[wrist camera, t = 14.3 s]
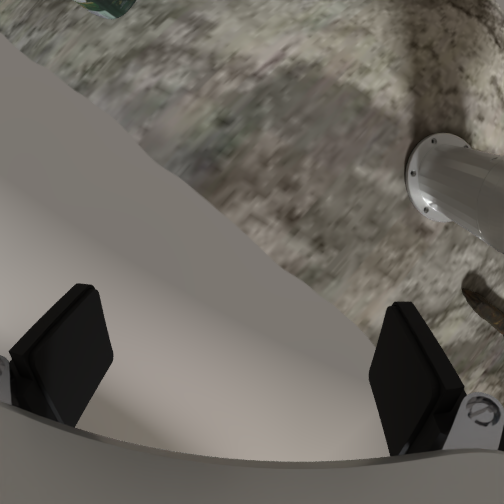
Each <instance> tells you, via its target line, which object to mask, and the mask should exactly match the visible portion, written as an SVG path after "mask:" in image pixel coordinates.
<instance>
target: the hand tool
mask: <svg viewBox="0 0 504 504" xmlns="http://www.w3.org/2000/svg"><path fill="white" fill-rule="evenodd" d="M462 293H463V295H464V296H465V298H466V300H467V302H468V303H469V305H470V306H471V307H472V308H473V310H474V311H475V312H476V313H478V315H479V316H480V317H481V318H483V319H485V320H486V321H487V322H488V323H490V324H491V325H492V326H493V327H494V328H495V329H497V330H498V331H499V332H500V333H501V334H503V336H504V314H503V313H502V312H501V311H500V310H498V309H497V308H496V307H494V306H493V305H492V304H491V303H490V302H488V301H487V300H486V299H485V298H484V297H482V296H481V295H479V294H478V293H476V292H473V291H470V290H466V289H462Z"/></svg>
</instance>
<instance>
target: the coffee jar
mask: <svg viewBox="0 0 504 504" xmlns="http://www.w3.org/2000/svg"><path fill="white" fill-rule="evenodd" d="M74 1H75V2H77V3H78V4H80V5H81V6H82V7H84V8H85V9H87V10H88V11H90V12H91V13H93V14H95V15H97V16H99V17H102V18H107V19H115V18H119V17H121V16H122V15H124V14H125V13H126V12H127V11H128V10H129V9H130V8H131V6H132V5H133V4H134V3H135V1H136V0H74Z"/></svg>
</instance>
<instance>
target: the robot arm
mask: <svg viewBox="0 0 504 504" xmlns="http://www.w3.org/2000/svg"><path fill="white" fill-rule="evenodd" d="M432 140H433V142H432ZM411 171H412V174H411ZM406 187H407V192H408V195H409V198H410V200H411V202H412V203H413V205H414V207H415V208H416V209H417V210H418V211H419V212H420V213H421V214H423V215H424V216H425V217H427V218H429V219H430V220H433V221H436V222H450V221H454V222H455V223H457V224H459V225H460V226H462V227H463V228H465V229H466V230H468V231H469V232H471V233H472V234H474V235H475V236H477V237H478V238H480V239H481V240H482V241H484V242H485V243H487V244H488V245H490V246H491V247H493V248H494V249H496V250H497V251H499V252H501V253H502V254H504V156H502V155H498V154H493V153H489V152H484V151H480V150H475V149H472V148H471V147H470V145H469V144H468V143H467V142H466V141H465V140H463V139H462V138H460V137H458V136H456V135H453V134H449V133H436V134H432V135H429V136H428V137H426V138H424V139H423V140H422V141H420V142H419V143H418V144H417V146H416V147H415V148H414V149H413V151H412V153H411V155H410V157H409V160H408V163H407V167H406ZM424 208H425V209H424ZM9 353H10V355H11V357H12V360H11V361H10V362H9V361H8V360H7V359H6V358H5V357H3V356H1V355H0V504H504V409H503V406H502V405H501V404H500V402H499V401H498V400H497V399H495V398H494V397H492V396H491V395H489V394H485V393H482V392H474V393H471V394H468V395H466V393H465V391H464V385H463V383H462V381H461V380H460V378H459V376H458V374H457V373H456V371H455V369H454V368H453V366H452V364H451V363H450V361H449V359H448V358H447V356H446V354H445V353H444V351H443V349H442V348H441V346H440V345H439V343H438V341H437V340H436V338H435V337H434V335H433V333H432V332H431V330H430V329H429V327H428V326H427V324H426V323H425V321H424V319H423V318H422V316H421V315H420V313H419V312H418V310H417V309H416V307H415V306H414V304H413V303H412V302H394V303H393V304H392V306H389V307H388V308H387V310H386V314H385V318H384V321H383V325H382V329H381V333H380V336H379V340H378V343H377V347H376V350H375V354H374V357H373V360H372V363H371V367H370V370H369V382H370V385H371V388H372V392H373V395H374V398H375V402H376V405H377V409H378V412H379V416H380V419H381V423H382V427H383V430H384V434H385V438H386V441H387V445H388V449H389V453H390V457H381V458H370V459H359V460H345V461H321V462H278V461H276V462H275V461H255V460H240V459H228V458H218V457H209V456H202V455H194V454H187V453H181V452H175V451H169V450H163V449H158V448H153V447H148V446H143V445H138V444H134V443H129V442H125V441H120V440H117V439H113V438H108V437H105V436H102V435H98V434H94V433H91V432H87V431H84V430H81V429H77V428H75V426H76V424H77V422H78V420H79V419H80V417H81V415H82V413H83V411H84V410H85V408H86V406H87V404H88V403H89V401H90V399H91V397H92V396H93V394H94V392H95V391H96V389H97V387H98V385H99V384H100V382H101V380H102V379H103V377H104V375H105V374H106V372H107V370H108V368H109V367H110V365H111V363H112V361H113V350H112V347H111V343H110V339H109V335H108V331H107V327H106V322H105V318H104V314H103V309H102V305H101V300H100V295H99V292H98V291H97V290H95V288H94V286H93V285H88V284H76V285H74V286H73V287H72V288H71V289H70V290H69V291H68V292H67V293H66V294H65V295H64V296H63V297H62V298H61V299H60V300H59V301H57V302H56V304H54V305H53V306H52V307H51V308H50V309H49V310H48V311H47V312H46V314H44V315H43V316H42V317H41V318H40V319H39V320H38V321H37V322H36V323H35V324H34V325H33V326H32V327H31V328H30V329H29V330H28V331H27V332H26V334H25V335H24V336H23V337H22V338H21V339H20V340H19V341H18V342H17V343H16V344H15V345H14V346H13V347H12V348H11V349H10V350H9Z"/></svg>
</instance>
